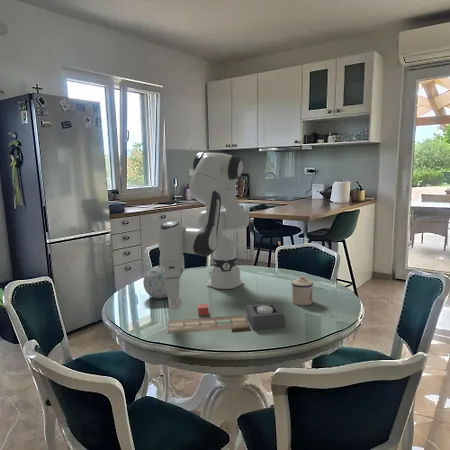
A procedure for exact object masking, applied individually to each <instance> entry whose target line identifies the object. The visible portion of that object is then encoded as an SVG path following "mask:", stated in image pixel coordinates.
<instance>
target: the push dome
mask: <svg viewBox="0 0 450 450" xmlns="http://www.w3.org/2000/svg"><path fill="white" fill-rule="evenodd" d="M266 313H273V308H272V307H271V306H265V305H264V306H259V307H257V314H266Z"/></svg>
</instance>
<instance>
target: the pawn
mask: <svg viewBox="0 0 450 450" xmlns="http://www.w3.org/2000/svg"><path fill="white" fill-rule="evenodd" d="M167 299H168V298H167ZM167 303H168V309H169V310H173V311H174V310H178V309H179V308H180V307H181V305H180V304H181V303H180V295H179V296H178V299H176V305H175V306H172V304H171V299H168V302H167Z"/></svg>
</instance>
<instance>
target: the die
mask: <svg viewBox="0 0 450 450" xmlns="http://www.w3.org/2000/svg"><path fill="white" fill-rule="evenodd" d="M209 312H210V311H209V304H208V303H206V304H205V303H204V304H197V313H198V316H208V315H209Z"/></svg>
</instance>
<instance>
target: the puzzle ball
mask: <svg viewBox="0 0 450 450" xmlns="http://www.w3.org/2000/svg"><path fill="white" fill-rule="evenodd" d="M143 288H144V290H145V292H146V293H147V294H148V295H149V296H150V297H152V298H154V299H158V300H161V299H165V298H168V297H167V292H166V285H165V279H164V278H163V275H162V273H161V272H160V265H156V266H153V267H151V268H150V269H149V270H147V272H146V273H145V274H144V277H143Z"/></svg>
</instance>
